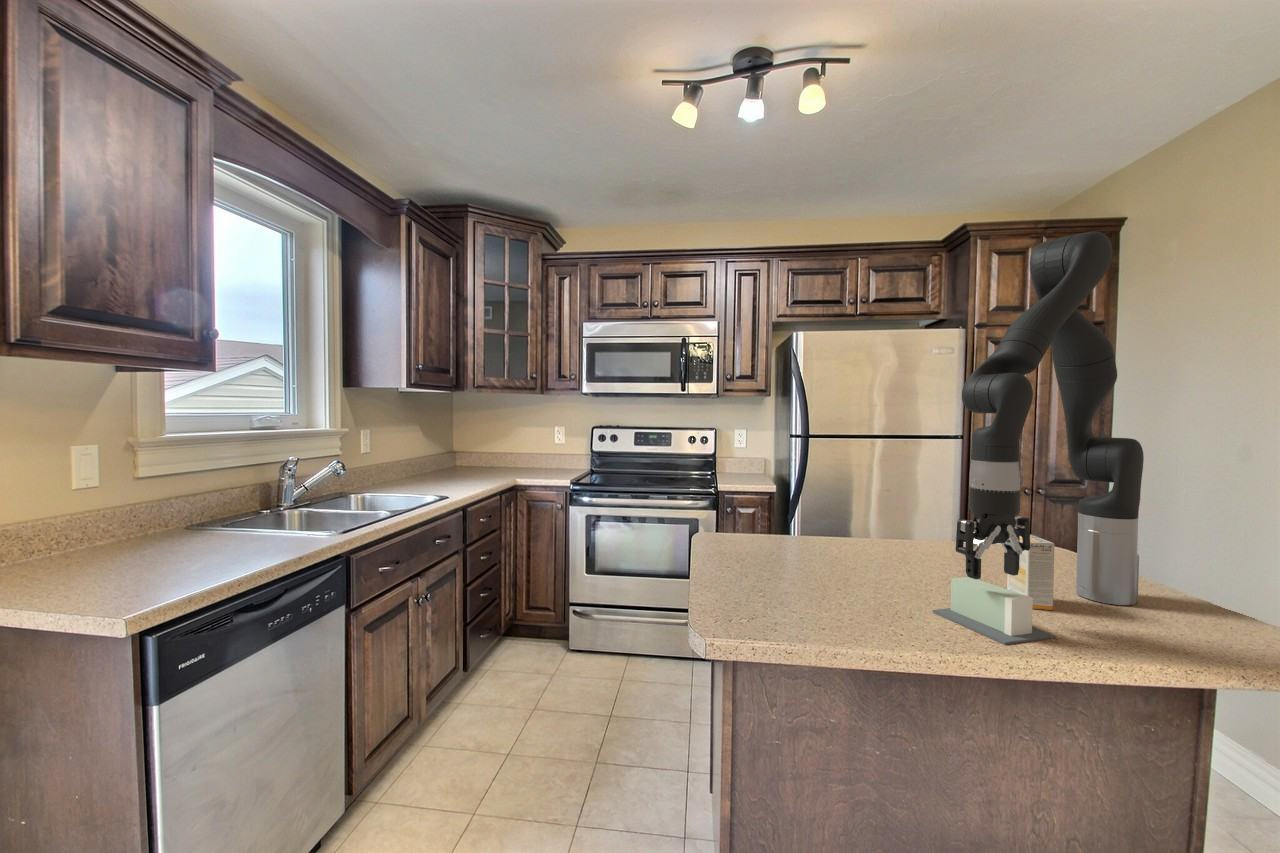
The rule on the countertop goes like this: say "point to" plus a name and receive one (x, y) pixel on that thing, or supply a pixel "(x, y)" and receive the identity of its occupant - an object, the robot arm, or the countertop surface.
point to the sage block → (992, 605)
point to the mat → (992, 629)
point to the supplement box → (1035, 573)
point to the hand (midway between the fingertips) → (992, 576)
